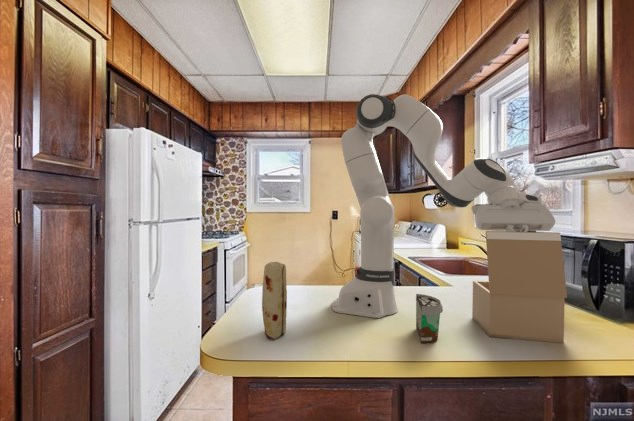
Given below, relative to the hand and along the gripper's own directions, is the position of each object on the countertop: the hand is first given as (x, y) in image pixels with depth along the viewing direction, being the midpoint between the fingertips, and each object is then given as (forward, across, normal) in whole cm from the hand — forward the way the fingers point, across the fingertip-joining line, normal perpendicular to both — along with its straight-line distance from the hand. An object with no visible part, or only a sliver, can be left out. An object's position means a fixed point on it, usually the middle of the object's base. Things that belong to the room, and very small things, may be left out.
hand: (521, 239), depth 83 cm
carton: (+16, 0, +21) cm, 27 cm away
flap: (+6, 0, +3) cm, 6 cm away
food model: (+28, -67, +9) cm, 74 cm away
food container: (+24, -25, +14) cm, 37 cm away
